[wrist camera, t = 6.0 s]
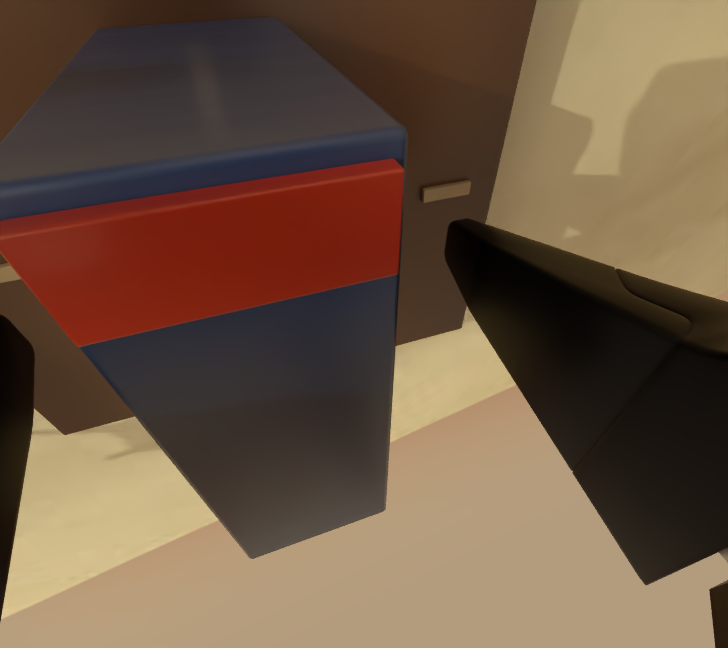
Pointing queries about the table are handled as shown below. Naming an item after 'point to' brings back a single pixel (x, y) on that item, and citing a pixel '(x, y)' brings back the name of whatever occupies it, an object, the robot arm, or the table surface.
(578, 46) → the table surface
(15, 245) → the blue block
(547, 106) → the table surface
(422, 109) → the brown slab
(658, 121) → the table surface
